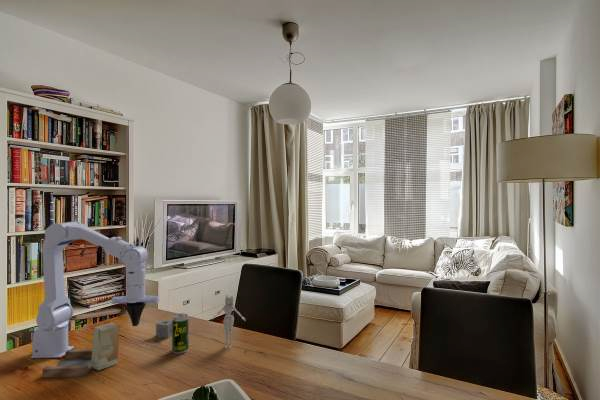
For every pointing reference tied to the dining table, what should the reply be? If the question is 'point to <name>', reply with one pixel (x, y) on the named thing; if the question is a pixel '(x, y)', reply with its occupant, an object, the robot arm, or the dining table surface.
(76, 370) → the u rest
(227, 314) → the human figurine
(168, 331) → the dice cube
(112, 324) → the skincare box
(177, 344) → the beer can
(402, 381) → the dining table surface
